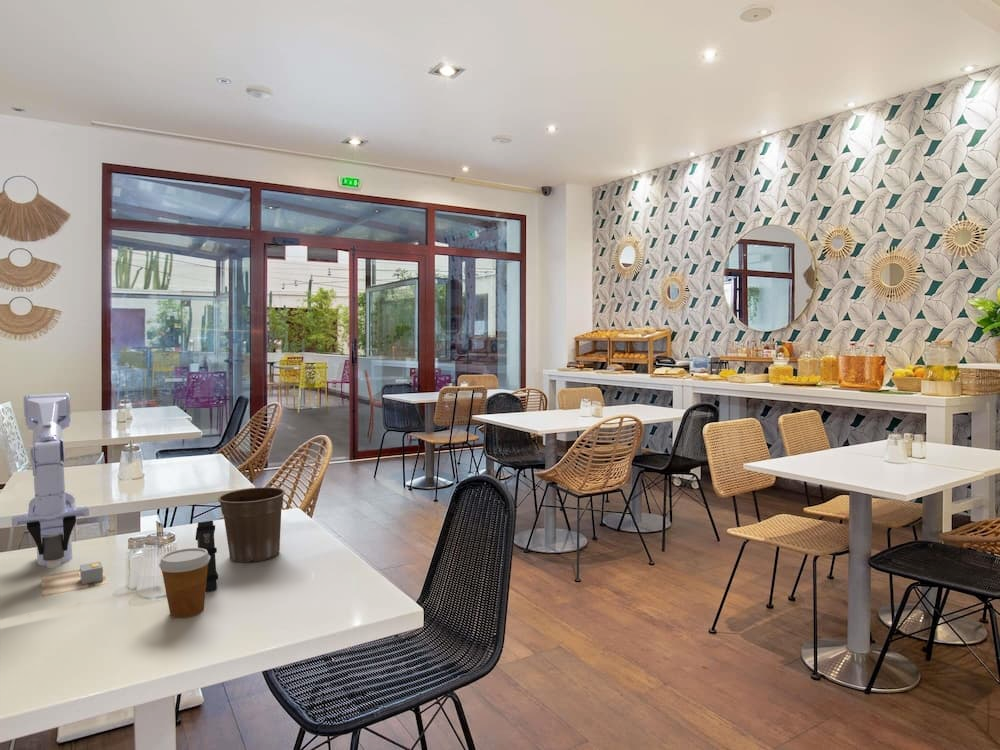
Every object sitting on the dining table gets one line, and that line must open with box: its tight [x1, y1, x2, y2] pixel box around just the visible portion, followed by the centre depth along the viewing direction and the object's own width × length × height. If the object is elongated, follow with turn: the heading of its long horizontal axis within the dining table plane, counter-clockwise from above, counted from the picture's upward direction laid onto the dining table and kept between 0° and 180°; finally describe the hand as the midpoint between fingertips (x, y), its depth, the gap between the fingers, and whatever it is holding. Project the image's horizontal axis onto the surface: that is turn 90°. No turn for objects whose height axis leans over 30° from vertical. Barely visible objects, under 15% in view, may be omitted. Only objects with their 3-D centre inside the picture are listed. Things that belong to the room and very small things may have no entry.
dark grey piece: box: [42, 534, 64, 569], centre depth 149 cm, size 4×4×7 cm
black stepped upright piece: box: [195, 520, 219, 593], centre depth 149 cm, size 4×13×15 cm, turn 28°
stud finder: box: [79, 561, 104, 584], centre depth 148 cm, size 5×4×3 cm
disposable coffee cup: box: [158, 547, 210, 619], centre depth 133 cm, size 10×10×12 cm
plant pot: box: [217, 486, 286, 563], centre depth 168 cm, size 16×16×16 cm
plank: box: [40, 567, 108, 597], centre depth 149 cm, size 15×12×2 cm
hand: (53, 551), depth 149 cm, fingers closed on dark grey piece, 4 cm apart
